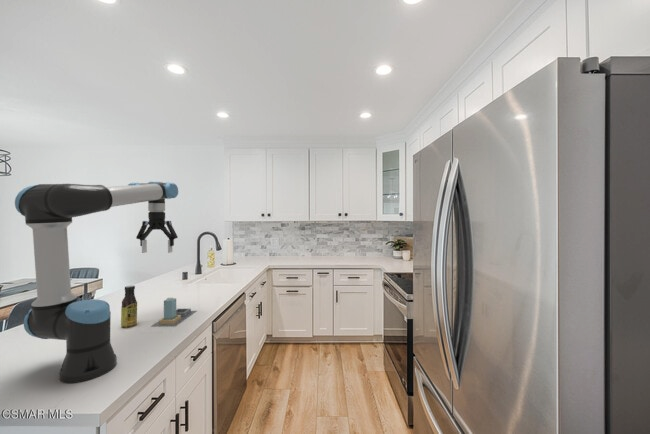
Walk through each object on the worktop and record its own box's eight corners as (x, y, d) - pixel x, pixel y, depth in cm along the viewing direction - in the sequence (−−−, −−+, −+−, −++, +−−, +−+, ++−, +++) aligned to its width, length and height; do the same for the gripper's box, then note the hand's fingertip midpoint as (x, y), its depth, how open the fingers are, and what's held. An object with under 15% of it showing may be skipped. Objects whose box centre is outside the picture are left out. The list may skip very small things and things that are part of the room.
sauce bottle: (128, 330, 130) (128, 288, 130) (117, 330, 131) (117, 287, 131) (140, 325, 136) (140, 285, 136) (129, 324, 138) (129, 284, 138)
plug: (172, 323, 136) (171, 299, 136) (163, 323, 137) (163, 299, 136) (176, 320, 140) (176, 296, 140) (168, 320, 141) (168, 296, 140)
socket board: (175, 328, 132) (175, 322, 132) (150, 328, 133) (150, 322, 133) (197, 312, 154) (197, 307, 154) (176, 312, 155) (176, 307, 155)
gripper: (184, 211, 148) (184, 251, 148) (138, 211, 149) (138, 251, 149) (176, 211, 141) (177, 253, 141) (127, 211, 141) (128, 253, 141)
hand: (157, 252), depth 145 cm, fingers open, 13 cm apart
